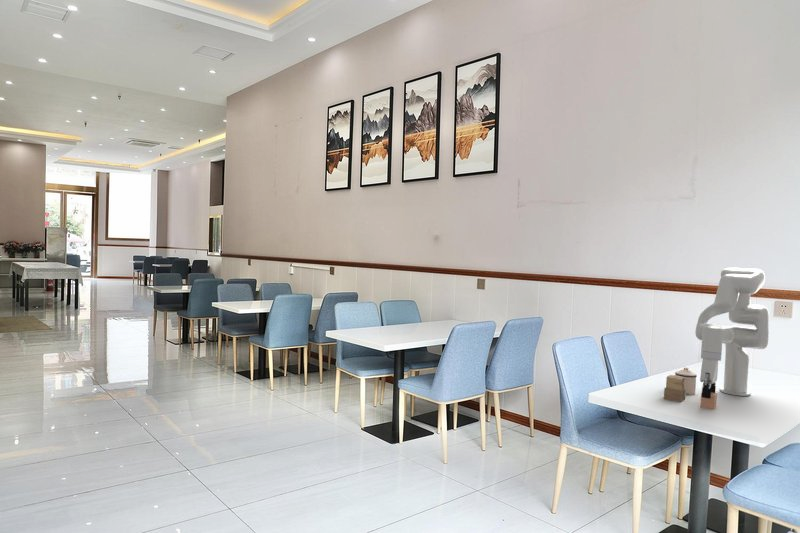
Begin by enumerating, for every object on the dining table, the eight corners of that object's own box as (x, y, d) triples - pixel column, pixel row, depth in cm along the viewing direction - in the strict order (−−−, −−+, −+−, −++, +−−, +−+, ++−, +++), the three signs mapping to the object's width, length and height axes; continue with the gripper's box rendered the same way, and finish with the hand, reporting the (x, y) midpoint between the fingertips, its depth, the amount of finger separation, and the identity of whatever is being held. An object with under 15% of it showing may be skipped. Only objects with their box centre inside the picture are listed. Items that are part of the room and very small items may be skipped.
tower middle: (669, 385, 248) (670, 374, 248) (684, 388, 245) (684, 377, 244) (665, 388, 244) (666, 376, 244) (680, 390, 240) (681, 379, 240)
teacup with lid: (697, 392, 259) (698, 367, 259) (693, 396, 252) (695, 370, 251) (669, 388, 266) (670, 363, 266) (665, 391, 259) (666, 366, 259)
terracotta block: (702, 404, 237) (703, 391, 236) (716, 407, 233) (716, 393, 233) (700, 407, 233) (701, 393, 233) (713, 409, 230) (714, 395, 229)
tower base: (667, 396, 249) (668, 385, 249) (685, 399, 245) (685, 388, 245) (663, 399, 244) (664, 388, 244) (681, 402, 239) (681, 391, 239)
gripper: (705, 352, 241) (702, 391, 242) (696, 356, 228) (694, 397, 228) (724, 355, 237) (722, 394, 237) (717, 359, 223) (714, 401, 224)
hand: (708, 396), depth 233 cm, fingers open, 9 cm apart
